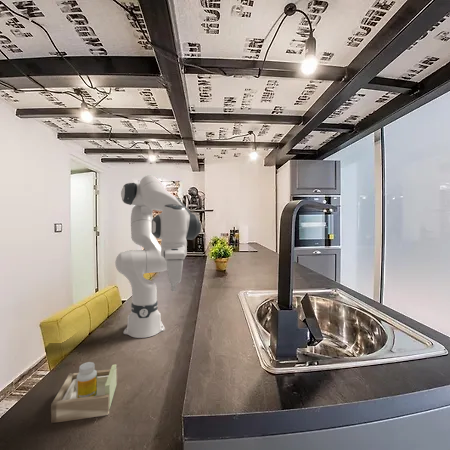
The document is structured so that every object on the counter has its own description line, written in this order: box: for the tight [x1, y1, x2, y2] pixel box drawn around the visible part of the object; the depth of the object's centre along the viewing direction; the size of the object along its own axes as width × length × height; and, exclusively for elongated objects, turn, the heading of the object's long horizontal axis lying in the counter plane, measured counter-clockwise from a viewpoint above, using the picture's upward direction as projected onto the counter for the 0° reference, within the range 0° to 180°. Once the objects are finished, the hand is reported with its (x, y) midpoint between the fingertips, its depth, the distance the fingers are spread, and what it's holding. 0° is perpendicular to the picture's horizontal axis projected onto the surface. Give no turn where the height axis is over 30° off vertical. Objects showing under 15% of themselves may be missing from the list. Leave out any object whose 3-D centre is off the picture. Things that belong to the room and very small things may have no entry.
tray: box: [62, 363, 117, 411], centre depth 78 cm, size 11×12×7 cm
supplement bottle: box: [76, 361, 98, 398], centre depth 78 cm, size 5×5×10 cm
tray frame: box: [50, 368, 118, 424], centre depth 78 cm, size 14×14×5 cm
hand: (173, 290), depth 92 cm, fingers closed
